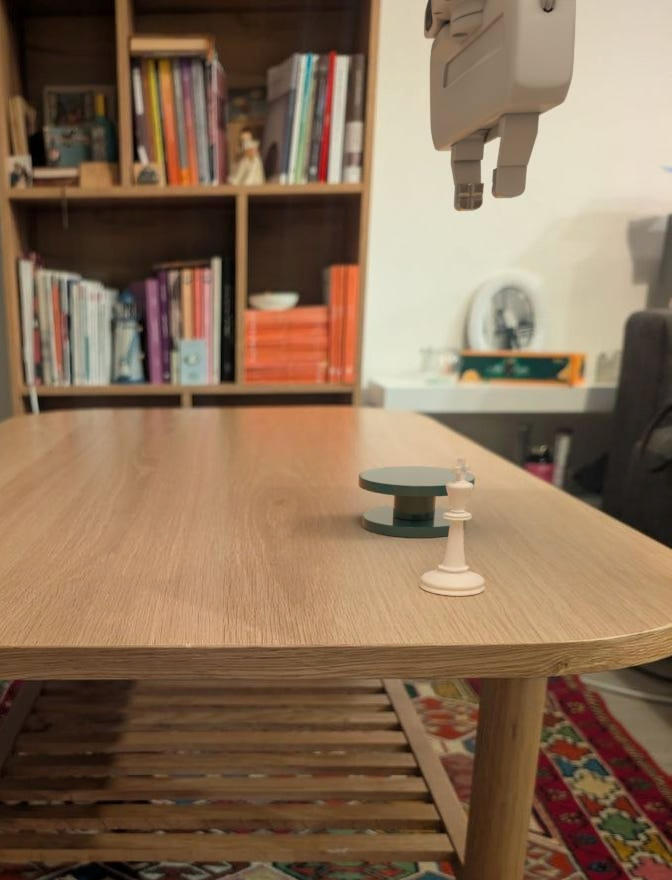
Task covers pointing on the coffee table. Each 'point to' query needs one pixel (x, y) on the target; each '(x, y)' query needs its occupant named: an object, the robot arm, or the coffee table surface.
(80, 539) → the coffee table surface
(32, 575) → the coffee table surface
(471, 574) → the chess piece
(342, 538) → the coffee table surface
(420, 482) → the stand
